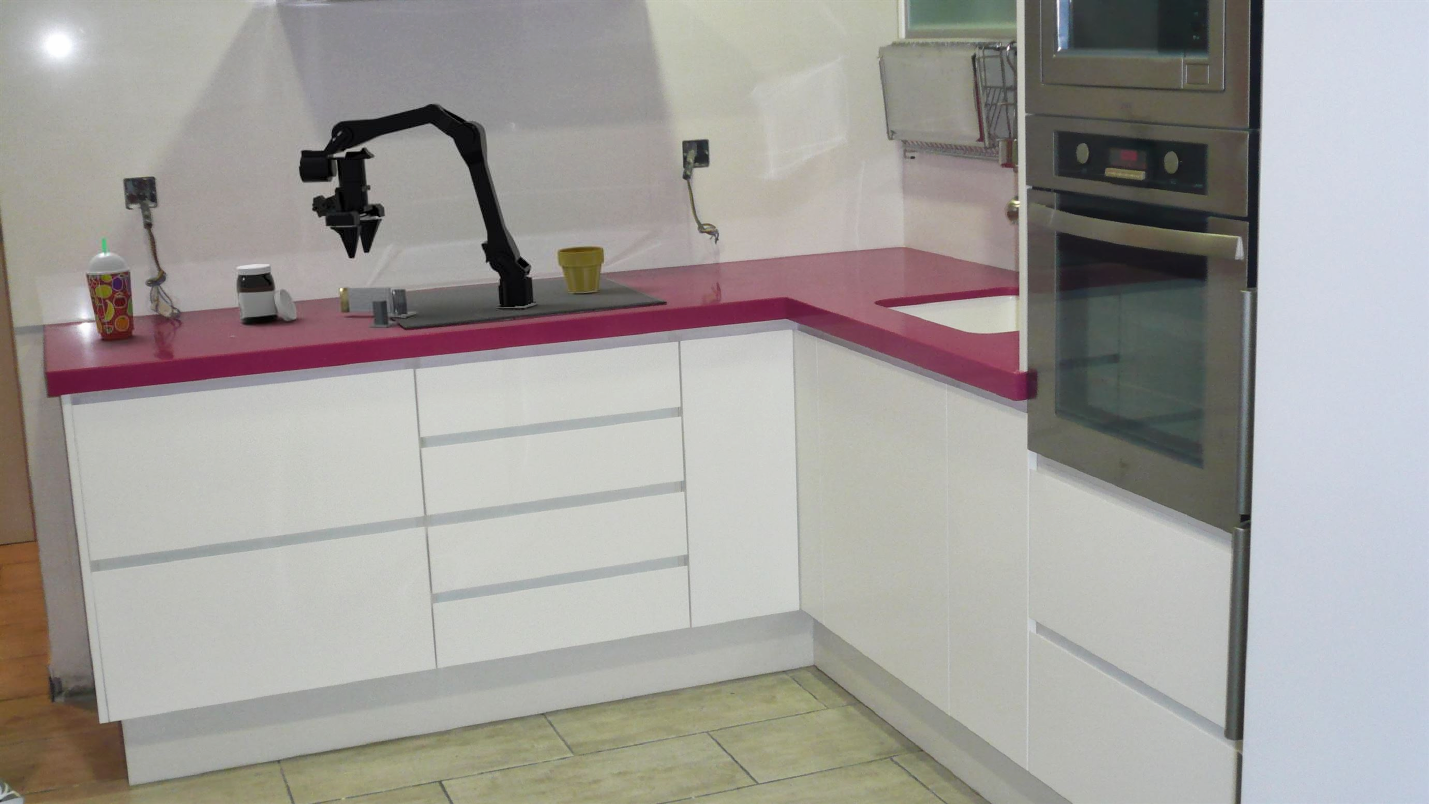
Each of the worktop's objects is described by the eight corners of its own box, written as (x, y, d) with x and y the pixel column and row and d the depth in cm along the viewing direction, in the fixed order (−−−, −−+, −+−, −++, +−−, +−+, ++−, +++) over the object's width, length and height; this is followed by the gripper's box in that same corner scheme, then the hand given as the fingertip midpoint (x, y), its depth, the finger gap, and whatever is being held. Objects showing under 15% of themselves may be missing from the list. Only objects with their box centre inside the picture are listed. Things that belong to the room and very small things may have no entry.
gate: (393, 310, 298) (391, 286, 296) (389, 312, 296) (387, 288, 294) (344, 310, 300) (341, 287, 298) (339, 312, 297) (337, 289, 296)
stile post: (397, 324, 287) (395, 299, 286) (386, 327, 283) (384, 303, 282) (381, 323, 288) (378, 299, 287) (369, 327, 285) (367, 302, 284)
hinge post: (417, 314, 298) (415, 288, 296) (404, 318, 293) (402, 292, 292) (397, 313, 300) (395, 287, 298) (384, 317, 295) (381, 291, 294)
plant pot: (551, 295, 315) (548, 251, 313) (573, 288, 325) (570, 245, 322) (593, 296, 312) (590, 252, 309) (613, 289, 321) (611, 246, 319)
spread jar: (238, 319, 300) (232, 265, 298) (293, 314, 304) (287, 260, 302) (243, 328, 289) (237, 272, 287) (300, 322, 294) (294, 266, 291)
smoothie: (102, 334, 288) (88, 236, 284) (144, 332, 289) (131, 234, 284) (88, 342, 280) (74, 241, 275) (131, 340, 281) (118, 239, 276)
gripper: (333, 178, 306) (339, 250, 310) (297, 186, 288) (305, 262, 292) (382, 177, 304) (388, 249, 308) (349, 185, 287) (356, 261, 290)
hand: (359, 255), depth 300 cm, fingers open, 8 cm apart
